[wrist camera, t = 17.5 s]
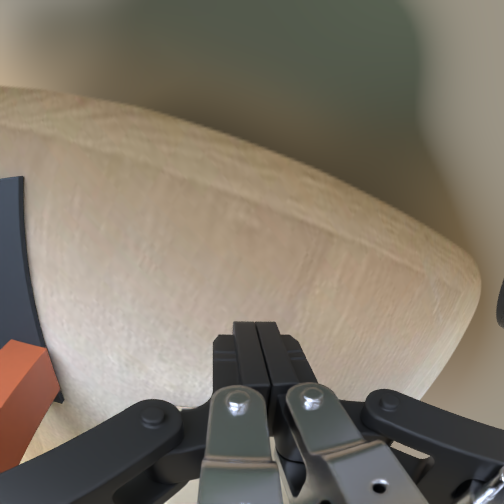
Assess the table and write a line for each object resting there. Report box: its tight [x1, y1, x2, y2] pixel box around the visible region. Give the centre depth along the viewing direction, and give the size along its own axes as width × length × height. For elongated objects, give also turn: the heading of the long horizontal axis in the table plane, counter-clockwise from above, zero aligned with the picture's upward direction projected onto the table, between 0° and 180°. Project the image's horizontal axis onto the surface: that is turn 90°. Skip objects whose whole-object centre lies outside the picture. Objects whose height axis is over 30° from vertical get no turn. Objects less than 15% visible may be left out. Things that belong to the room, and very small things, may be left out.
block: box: [0, 339, 60, 473], centre depth 10 cm, size 4×4×12 cm
